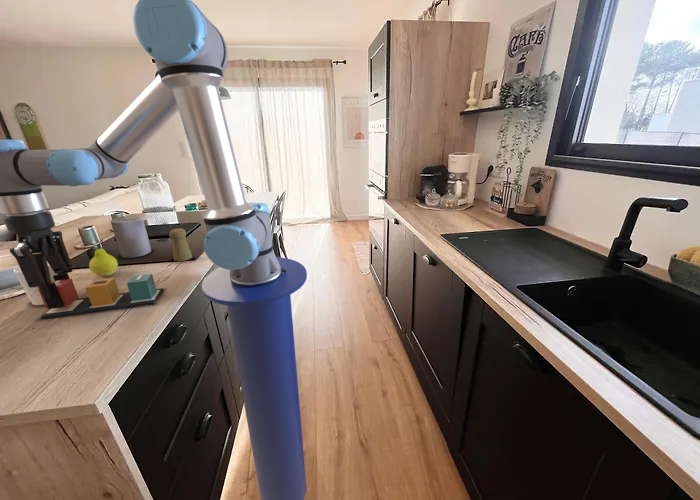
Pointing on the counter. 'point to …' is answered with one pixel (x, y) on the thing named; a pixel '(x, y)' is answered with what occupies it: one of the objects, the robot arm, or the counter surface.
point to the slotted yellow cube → (103, 292)
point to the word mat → (86, 307)
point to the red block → (64, 291)
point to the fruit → (103, 263)
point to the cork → (180, 245)
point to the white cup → (33, 291)
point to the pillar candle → (131, 236)
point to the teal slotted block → (141, 287)
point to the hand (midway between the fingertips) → (63, 301)
